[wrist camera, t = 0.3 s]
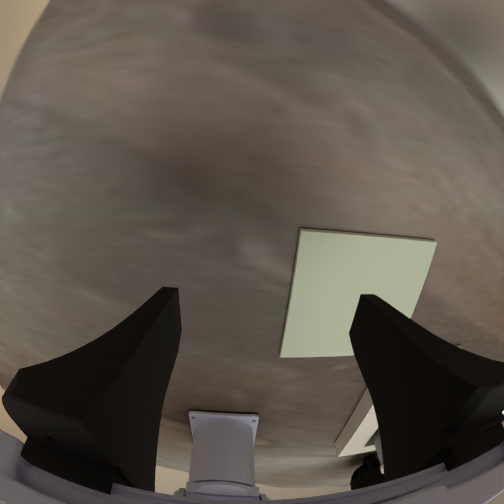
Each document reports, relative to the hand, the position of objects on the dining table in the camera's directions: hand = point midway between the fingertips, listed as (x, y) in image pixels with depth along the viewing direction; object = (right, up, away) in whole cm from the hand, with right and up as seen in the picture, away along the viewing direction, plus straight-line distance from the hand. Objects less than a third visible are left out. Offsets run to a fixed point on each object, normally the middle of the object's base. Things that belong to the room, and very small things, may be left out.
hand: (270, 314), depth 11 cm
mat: (+8, -2, +12) cm, 15 cm away
